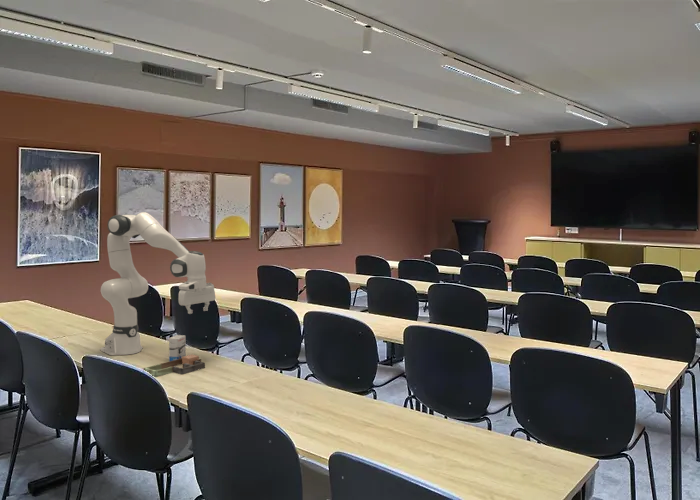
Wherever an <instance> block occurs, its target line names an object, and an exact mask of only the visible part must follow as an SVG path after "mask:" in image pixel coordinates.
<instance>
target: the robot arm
mask: <svg viewBox="0 0 700 500" xmlns="http://www.w3.org/2000/svg"><path fill="white" fill-rule="evenodd" d="M107 230H108V232H109V233H108V234H107V240H106V243H107V244H106V245H107V254H108V256H107V257H108V261H109V267H110V269H112V270H113V271H115V272H116V273H117V274H118V275H119V276H120V278H113V279H109V280H106V281H104V282H103V283H102V284H101V286H100V293H101V296H102V298H103V299H104V300H105V301H108V303H109V304H110V306H111V308H112V310H113V319H114V321H113V323H114V325H112V327H111V328H112V332H111V333H110V334H109V335H108V336H107V337H106V338H105V339H104V346H102V347H100V349H99V350H100V351H101V352H103V353H105V354H107V355H109V356H120V355H121V356H123V355H124V356H127V355H133V354H134V355H135V354H137V353H140V352H141V351H142V349H143V348H144V347H143V346H142V344H141V334H140V333H139V325H138V312H137V309H136V307H134V306H132V305H131V304H130V303H129V299H133V298H139V297H141V296H143V295H145V294H147V292H148V291H149V283H148V280H147V279H146V278H145V277H143V276H142V275H141V274H140V273H139V272H138V271H137V268H136V267H135V265H134V261H133V256H132V252H131V250H132V249H131V245H130V244H131V243H130V241H131V238H132V239H135V238H137V237H139V236H140V237H141V238H142V240H144V241H145V242H146V244H148V245H150V246H151V247H153V248H157V249H158V248H159V249H163V250H168V251H170V252H172V253H173V254H174V255H175V256H176V257H177V258H174V259H173V260H172V261H171V263H170V265H169V270H170V273H171V275H172V276H173V277H175V278H186V279H187V280H185V281H184V282H182V283H181V284H179V285H178V289H179V292H178V298H177V299H178V300H177V301H178V304H179V305H180V306H182V307H183V306H185V308H186V310H187V314H189V315H191V314H193V311H194V310H193V309H191V305H195V304H201V303H204V307H202V308H203V309H202V310H203V312H206V311H207V312H208V310H209V309H208V308H209V305H210V304H211V303H210V302H213V301H215V300H216V291H215V285H214V284H213V283H212V282H207V276H206V268H207V266H206V258H205V254H204V253H202V252H201V251H196V250H189V249H188V248H187V247H186V246H185V245H184V244H183V243H182V242H181V241H180V240H179V239H178V238H176V237H175V236H173V234H171V233H170V232H169V231H167V229H165V228H164V227H163V226H162V225H161V223H160V222H159V221H158V220H157V219H156V218H155V217H153V215H151V214H150V213H148V212H145V211H141V212H139V213H137V214H136V215H135V214H116V215H112V216H111V217H110V218H109V219H108V221H107Z"/></svg>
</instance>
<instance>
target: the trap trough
mask: <svg viewBox="0 0 700 500" xmlns="http://www.w3.org/2000/svg"><path fill="white" fill-rule="evenodd" d="M179 365H182V358H181V359H177V360H173V361H169V360H168V361H166V362H162V363H157V364H155V365H150V366H147V367H143V371H144V370H145V371H147V372H149V373H150V374H152V375H153V376H152V377H154V376H155V378H157V377H161V376H164V375H169V374H172V373H175V374H180V375H184V374H189V373H191V372H195V371H199V370H202V369H205V368H206V362H204V361H202V359H201V358H199V359H198V360H194V365H191V364H187V363H183V365H182V367H179ZM198 369H199V370H198Z"/></svg>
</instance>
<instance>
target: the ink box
mask: <svg viewBox="0 0 700 500" xmlns="http://www.w3.org/2000/svg"><path fill="white" fill-rule="evenodd" d="M186 339H187V338H186V335H183V334H182V335H181V334H175V335H173V336H171V337H169V339H168V362H169V361H173V360H177V359H181V358H182V357H184V356H187V355H186V352H187V351H186V350H187V349H186V348H187V347H186V345H187V344H186V342H187V341H186Z"/></svg>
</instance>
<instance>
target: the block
mask: <svg viewBox="0 0 700 500" xmlns="http://www.w3.org/2000/svg"><path fill="white" fill-rule="evenodd" d="M199 356H200V355H197V354H196V355H195V354H193V353H192V354H189V355H186V356H184V357H182V364H181V365H182V366H183V363H187V364H191V365H194V360H198V359H200V358H199Z"/></svg>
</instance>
